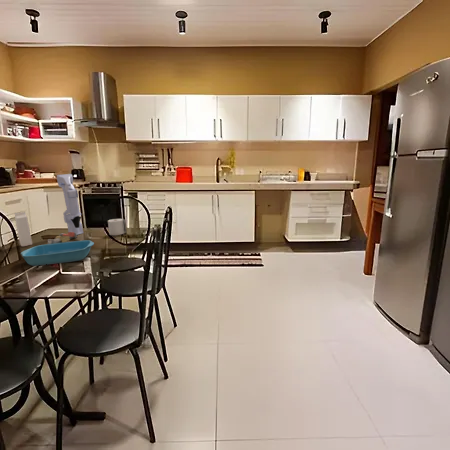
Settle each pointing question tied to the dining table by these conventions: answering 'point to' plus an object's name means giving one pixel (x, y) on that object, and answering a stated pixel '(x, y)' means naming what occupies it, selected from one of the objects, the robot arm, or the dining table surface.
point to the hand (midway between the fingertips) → (77, 227)
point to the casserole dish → (57, 252)
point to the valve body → (61, 239)
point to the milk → (23, 229)
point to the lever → (68, 234)
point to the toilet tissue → (117, 226)
